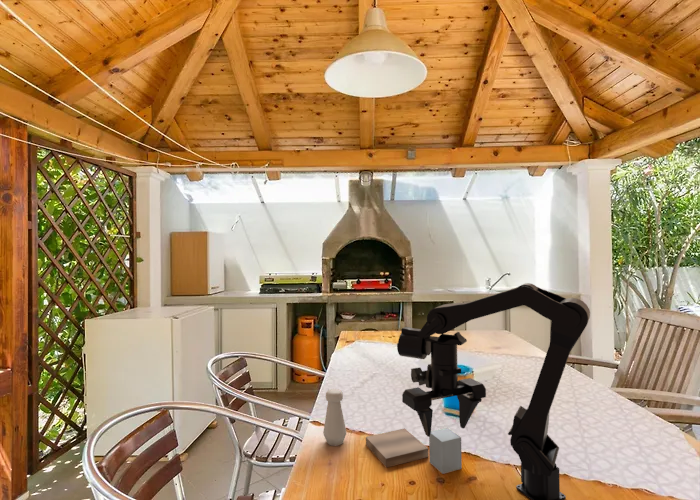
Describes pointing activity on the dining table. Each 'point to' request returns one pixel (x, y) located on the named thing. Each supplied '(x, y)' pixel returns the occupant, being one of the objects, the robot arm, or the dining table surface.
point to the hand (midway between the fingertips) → (445, 431)
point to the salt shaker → (334, 418)
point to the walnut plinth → (396, 447)
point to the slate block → (445, 450)
